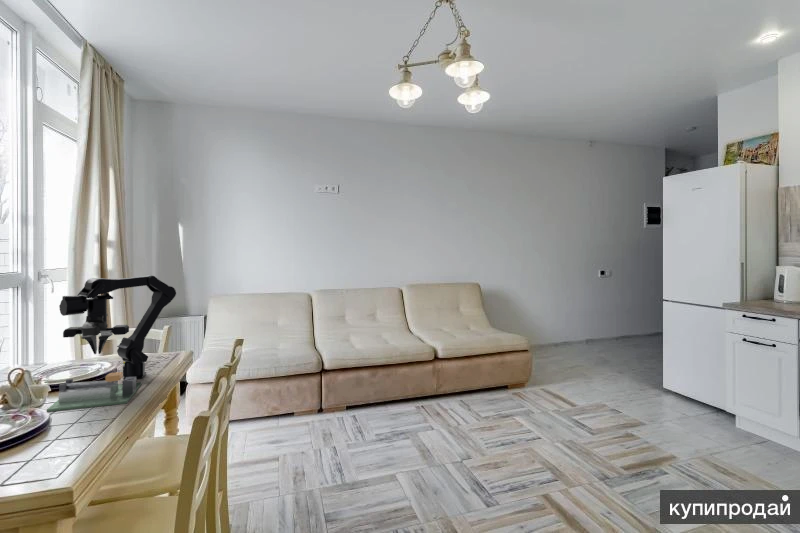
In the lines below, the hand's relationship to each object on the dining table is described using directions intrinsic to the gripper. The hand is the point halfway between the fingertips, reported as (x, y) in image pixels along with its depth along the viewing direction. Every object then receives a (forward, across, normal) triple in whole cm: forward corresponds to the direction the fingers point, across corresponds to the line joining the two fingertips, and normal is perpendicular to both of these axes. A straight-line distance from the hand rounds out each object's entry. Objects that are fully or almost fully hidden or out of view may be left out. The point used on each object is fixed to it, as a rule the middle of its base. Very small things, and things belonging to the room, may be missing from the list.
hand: (97, 353), depth 146 cm
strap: (+8, +2, -13) cm, 15 cm away
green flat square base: (+12, +4, -13) cm, 18 cm away
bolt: (+6, +8, -13) cm, 17 cm away
